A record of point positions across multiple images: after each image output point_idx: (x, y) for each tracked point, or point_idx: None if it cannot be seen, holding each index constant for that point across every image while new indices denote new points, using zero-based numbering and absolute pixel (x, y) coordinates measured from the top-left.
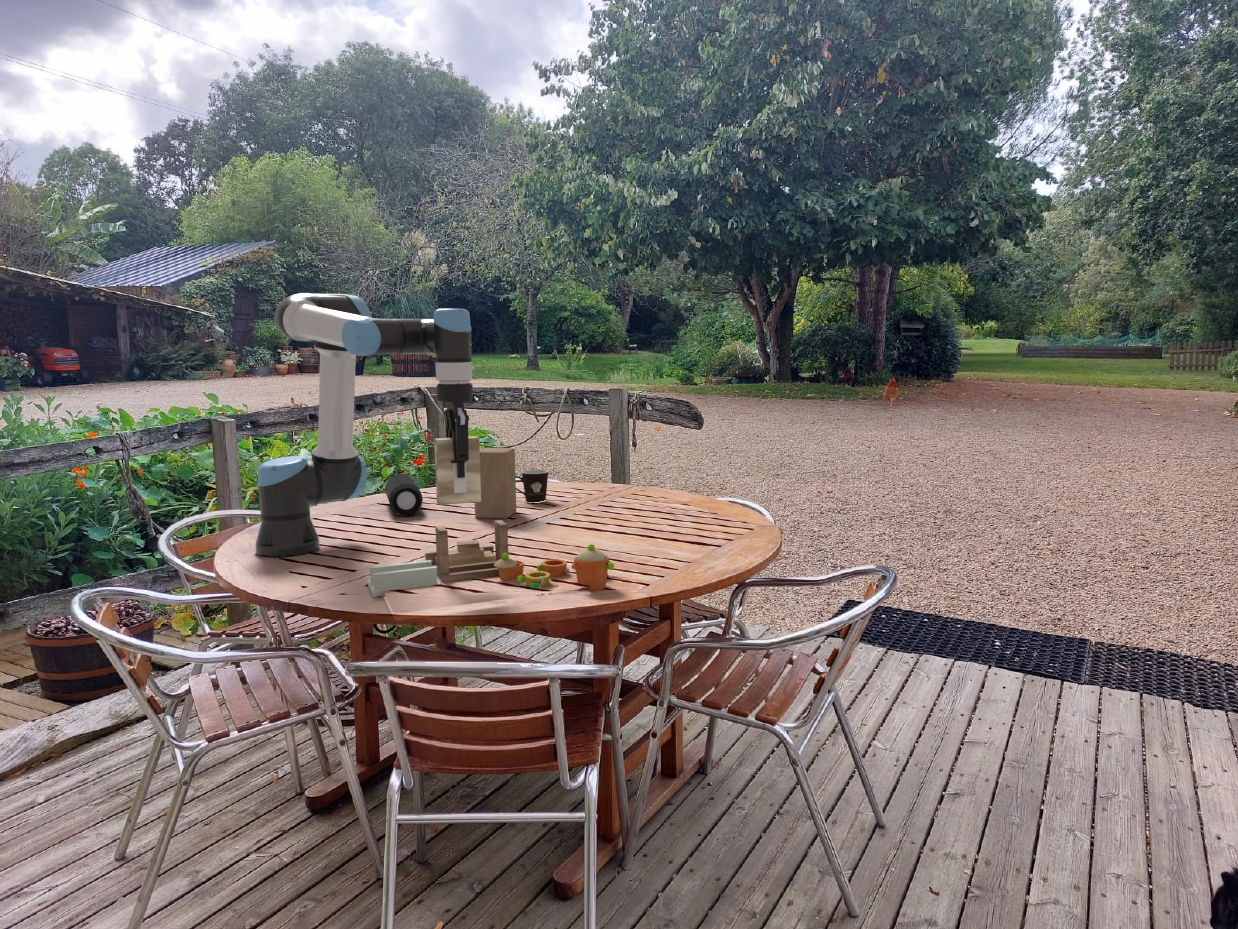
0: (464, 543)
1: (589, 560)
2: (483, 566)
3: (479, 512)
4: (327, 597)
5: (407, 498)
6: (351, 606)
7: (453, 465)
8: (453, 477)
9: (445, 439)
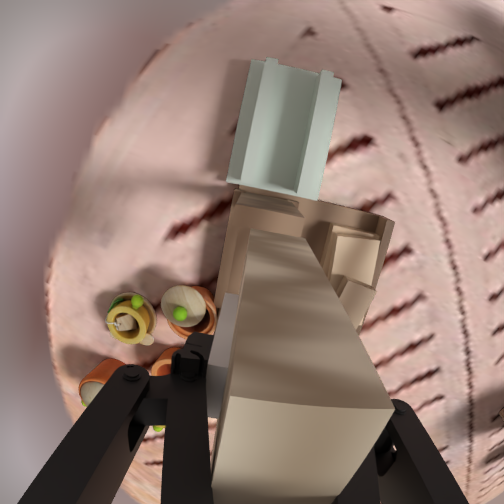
0: (347, 296)
1: (82, 387)
2: None
3: None
4: (303, 9)
5: None
6: (226, 23)
7: (213, 356)
8: (230, 324)
9: (244, 459)
